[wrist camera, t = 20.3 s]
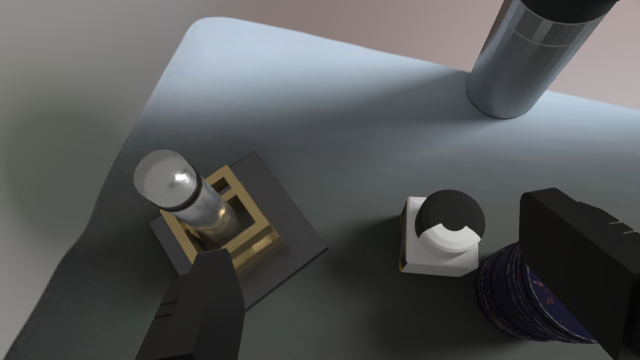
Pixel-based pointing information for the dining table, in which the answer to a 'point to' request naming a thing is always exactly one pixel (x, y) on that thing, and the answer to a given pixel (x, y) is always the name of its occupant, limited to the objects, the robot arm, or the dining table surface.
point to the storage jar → (523, 301)
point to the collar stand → (249, 231)
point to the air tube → (187, 196)
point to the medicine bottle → (440, 234)
